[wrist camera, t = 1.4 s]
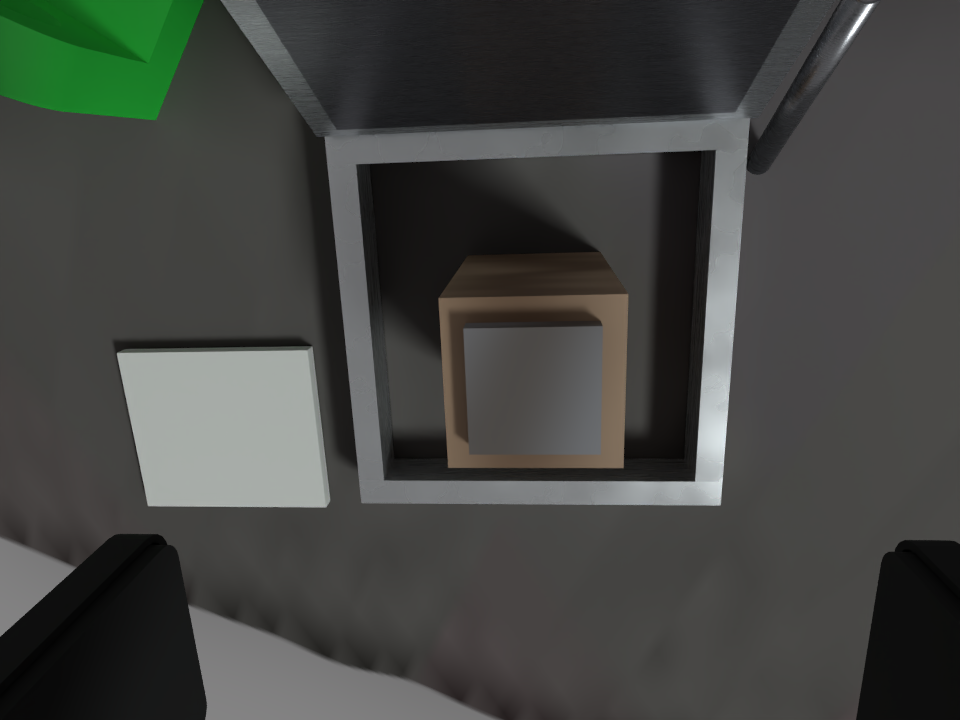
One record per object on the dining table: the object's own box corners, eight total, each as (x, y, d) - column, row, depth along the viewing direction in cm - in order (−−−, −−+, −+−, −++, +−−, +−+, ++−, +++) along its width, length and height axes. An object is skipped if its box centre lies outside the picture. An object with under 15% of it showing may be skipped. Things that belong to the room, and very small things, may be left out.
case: (786, -67, 22) (1191, -429, 8) (740, 476, 27) (935, 783, 14) (327, -36, 23) (37, -304, 10) (375, 475, 29) (234, 754, 15)
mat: (312, 345, 27) (307, 350, 26) (330, 500, 29) (326, 507, 28) (125, 349, 28) (116, 353, 27) (155, 499, 30) (148, 506, 29)
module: (600, 251, 25) (631, 298, 17) (598, 377, 26) (626, 478, 18) (467, 255, 25) (435, 302, 17) (473, 379, 27) (445, 477, 19)
